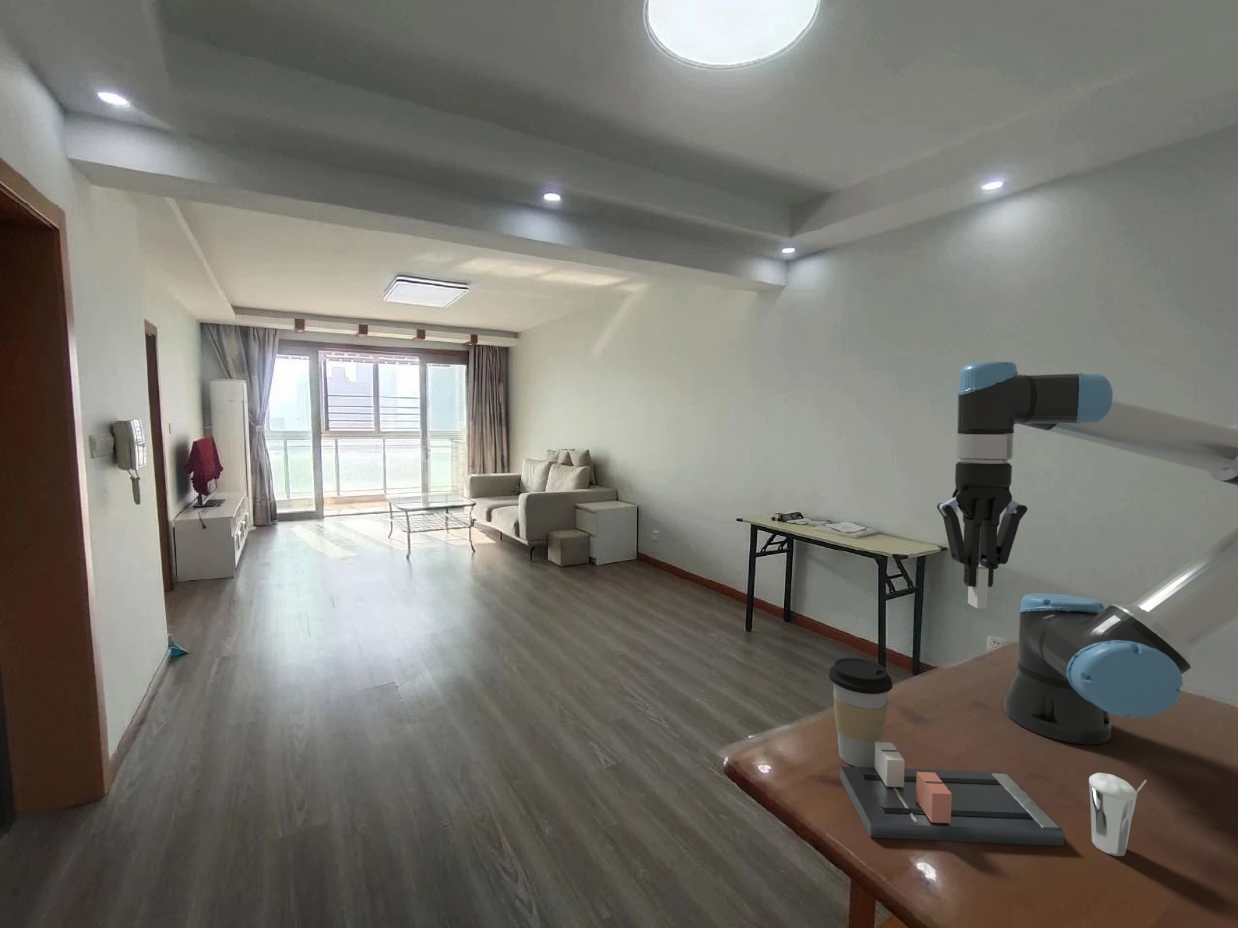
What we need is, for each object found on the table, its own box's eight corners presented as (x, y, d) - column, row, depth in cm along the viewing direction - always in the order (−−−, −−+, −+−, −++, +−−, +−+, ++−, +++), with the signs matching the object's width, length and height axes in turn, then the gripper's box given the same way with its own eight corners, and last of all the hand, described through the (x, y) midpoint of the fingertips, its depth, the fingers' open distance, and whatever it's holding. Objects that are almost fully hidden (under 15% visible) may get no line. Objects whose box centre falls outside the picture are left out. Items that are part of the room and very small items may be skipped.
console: (1004, 785, 83) (1005, 771, 83) (1063, 845, 71) (1064, 830, 71) (840, 778, 85) (840, 765, 84) (870, 837, 73) (870, 821, 73)
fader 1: (890, 767, 84) (891, 742, 83) (903, 786, 79) (904, 759, 79) (874, 767, 84) (875, 741, 84) (886, 786, 79) (887, 759, 79)
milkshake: (1146, 869, 67) (1151, 790, 67) (1088, 851, 70) (1093, 775, 69) (1136, 845, 71) (1141, 770, 70) (1082, 829, 74) (1086, 757, 73)
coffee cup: (897, 779, 84) (900, 683, 83) (832, 771, 86) (834, 678, 85) (881, 743, 94) (884, 657, 93) (822, 737, 96) (824, 653, 94)
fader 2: (933, 800, 76) (934, 771, 76) (950, 823, 72) (951, 793, 72) (915, 799, 77) (916, 771, 76) (931, 822, 72) (932, 792, 72)
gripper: (1011, 459, 92) (1004, 599, 93) (929, 459, 93) (924, 597, 94) (1042, 462, 84) (1034, 614, 86) (953, 462, 85) (947, 612, 87)
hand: (977, 605), depth 90 cm, fingers closed
